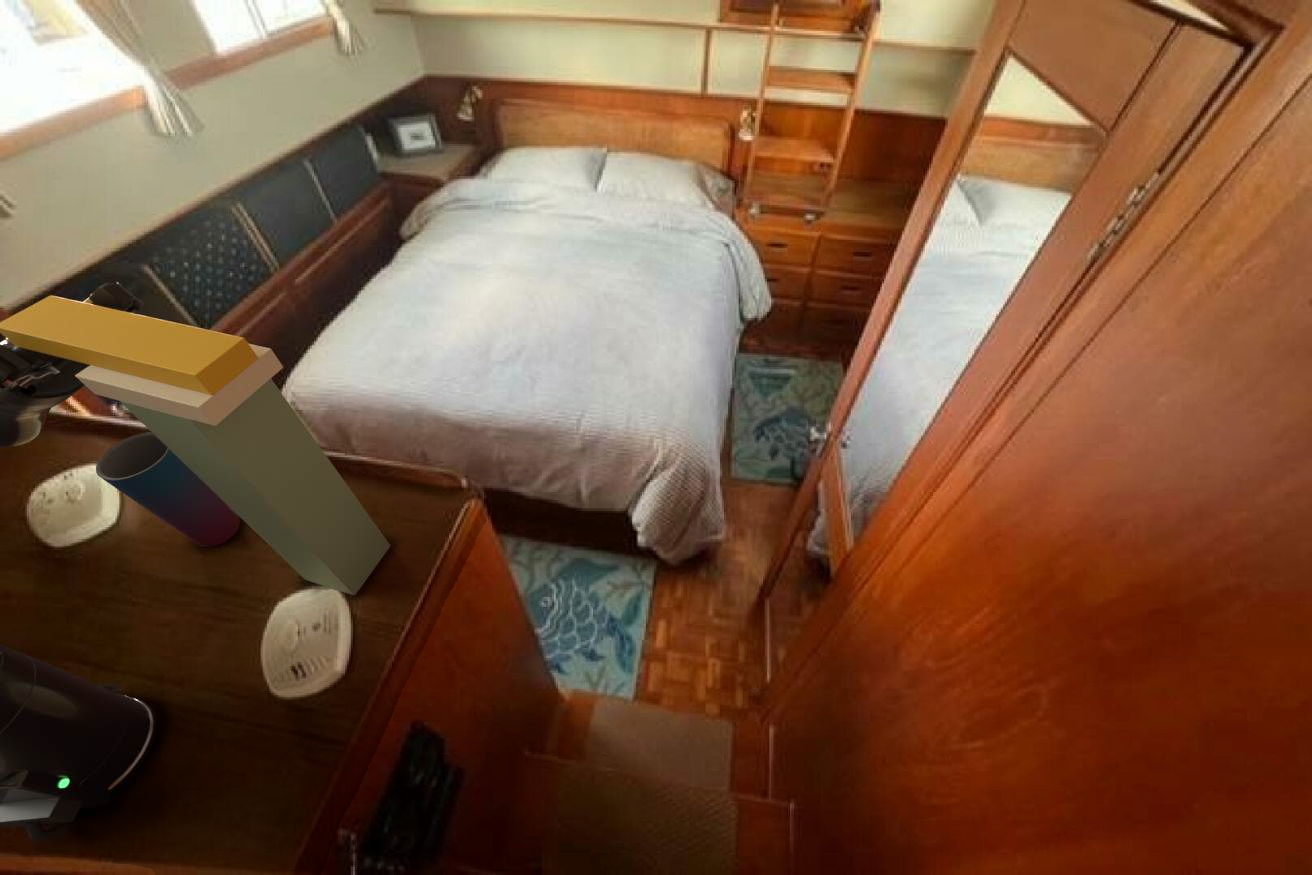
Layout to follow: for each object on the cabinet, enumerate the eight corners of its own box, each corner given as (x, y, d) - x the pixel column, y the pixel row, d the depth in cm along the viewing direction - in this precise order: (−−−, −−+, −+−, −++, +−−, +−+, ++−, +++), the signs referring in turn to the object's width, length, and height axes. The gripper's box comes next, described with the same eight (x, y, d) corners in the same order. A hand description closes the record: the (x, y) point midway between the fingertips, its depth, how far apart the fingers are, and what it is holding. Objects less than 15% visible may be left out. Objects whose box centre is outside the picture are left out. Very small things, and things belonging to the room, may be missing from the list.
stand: (408, 550, 67) (271, 348, 43) (373, 601, 63) (198, 407, 39) (327, 527, 69) (155, 322, 46) (288, 574, 65) (74, 375, 41)
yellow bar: (259, 358, 42) (244, 337, 41) (212, 395, 40) (195, 375, 38) (70, 314, 46) (50, 294, 45) (15, 346, 43) (-8, 326, 42)
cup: (229, 553, 67) (144, 480, 56) (175, 552, 67) (79, 479, 56) (258, 508, 71) (184, 432, 60) (207, 507, 71) (124, 431, 60)
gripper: (-111, 388, 45) (-97, 340, 36) (59, 295, 54) (103, 238, 45) (-7, 448, 49) (28, 418, 40) (135, 352, 58) (188, 311, 49)
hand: (68, 323), depth 43 cm, fingers open, 8 cm apart
